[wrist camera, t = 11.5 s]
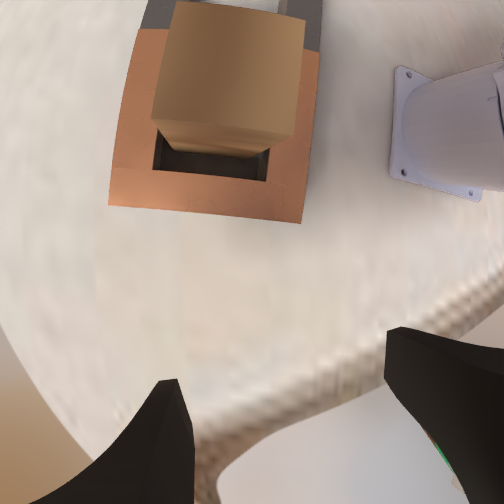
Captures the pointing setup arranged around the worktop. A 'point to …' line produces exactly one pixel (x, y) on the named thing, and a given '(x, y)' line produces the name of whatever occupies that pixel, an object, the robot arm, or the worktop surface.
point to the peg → (228, 80)
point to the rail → (198, 185)
